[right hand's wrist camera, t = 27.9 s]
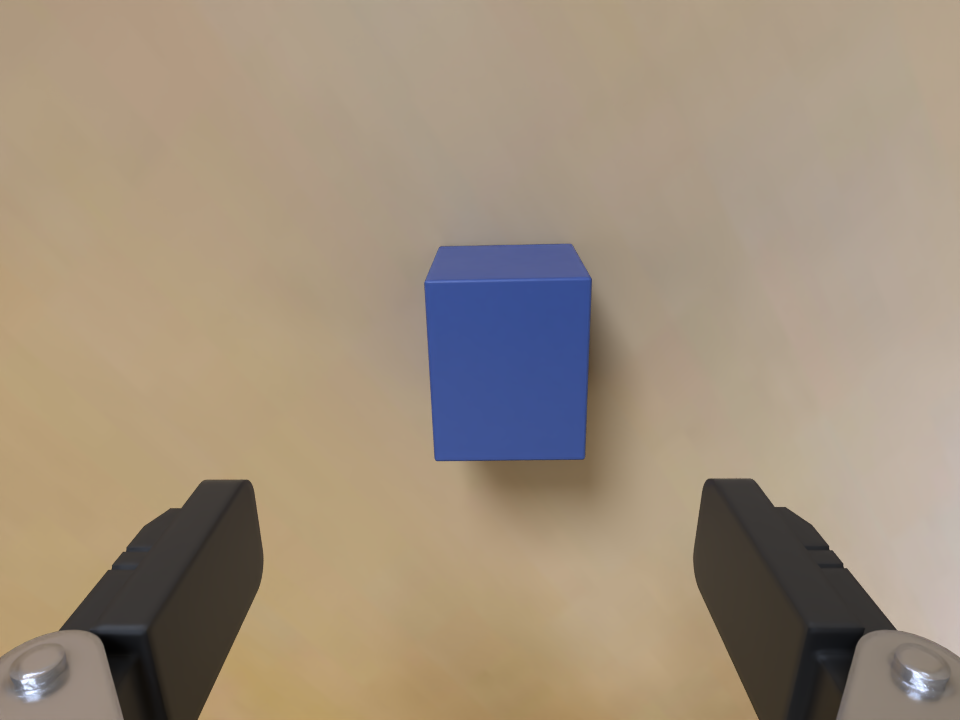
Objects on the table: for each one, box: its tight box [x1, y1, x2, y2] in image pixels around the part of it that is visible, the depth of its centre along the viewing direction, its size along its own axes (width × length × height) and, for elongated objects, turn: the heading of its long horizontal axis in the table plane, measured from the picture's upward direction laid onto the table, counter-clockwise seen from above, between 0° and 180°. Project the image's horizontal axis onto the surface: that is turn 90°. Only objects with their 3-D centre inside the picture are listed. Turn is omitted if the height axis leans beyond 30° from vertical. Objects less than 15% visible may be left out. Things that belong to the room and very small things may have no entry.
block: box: [424, 244, 592, 461], centre depth 18 cm, size 5×4×4 cm
